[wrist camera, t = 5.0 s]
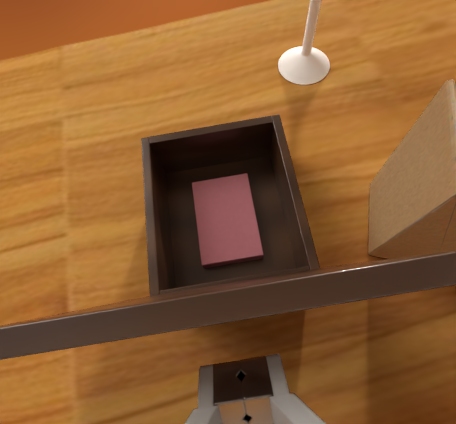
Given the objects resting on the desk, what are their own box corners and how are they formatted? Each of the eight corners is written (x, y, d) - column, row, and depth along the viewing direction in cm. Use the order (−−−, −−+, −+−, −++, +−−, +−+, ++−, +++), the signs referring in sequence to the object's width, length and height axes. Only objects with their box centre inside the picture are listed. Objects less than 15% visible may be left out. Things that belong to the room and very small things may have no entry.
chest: (160, 172, 37) (140, 138, 30) (274, 152, 36) (279, 114, 30) (171, 309, 31) (149, 302, 24) (307, 286, 31) (321, 273, 24)
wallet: (194, 188, 35) (191, 182, 33) (247, 179, 34) (247, 173, 33) (203, 268, 31) (201, 265, 30) (263, 258, 31) (263, 254, 30)
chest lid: (-44, 334, 8) (-45, 367, 8) (481, 247, 8) (492, 279, 8) (147, 296, 24) (148, 307, 24) (321, 267, 24) (324, 278, 24)
